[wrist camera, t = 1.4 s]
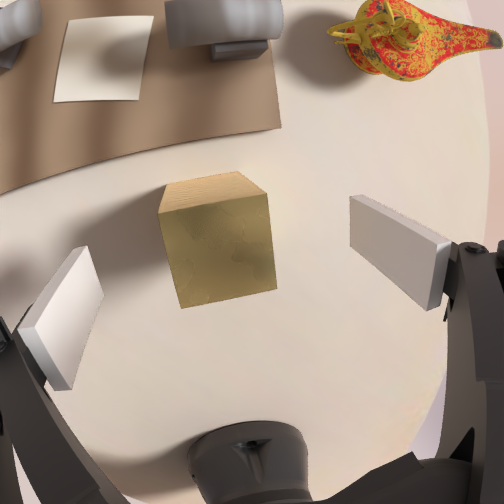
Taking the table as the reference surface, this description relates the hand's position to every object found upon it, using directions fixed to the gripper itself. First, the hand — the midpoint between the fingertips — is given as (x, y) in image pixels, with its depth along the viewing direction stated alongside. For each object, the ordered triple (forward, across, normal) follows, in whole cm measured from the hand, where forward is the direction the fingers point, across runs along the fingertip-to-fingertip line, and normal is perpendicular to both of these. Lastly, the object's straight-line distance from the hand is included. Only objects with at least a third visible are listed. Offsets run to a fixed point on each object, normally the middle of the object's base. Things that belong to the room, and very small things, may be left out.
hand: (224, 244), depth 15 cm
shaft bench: (+8, +6, -12) cm, 15 cm away
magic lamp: (+8, -16, -12) cm, 21 cm away
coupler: (+8, 0, +1) cm, 8 cm away
